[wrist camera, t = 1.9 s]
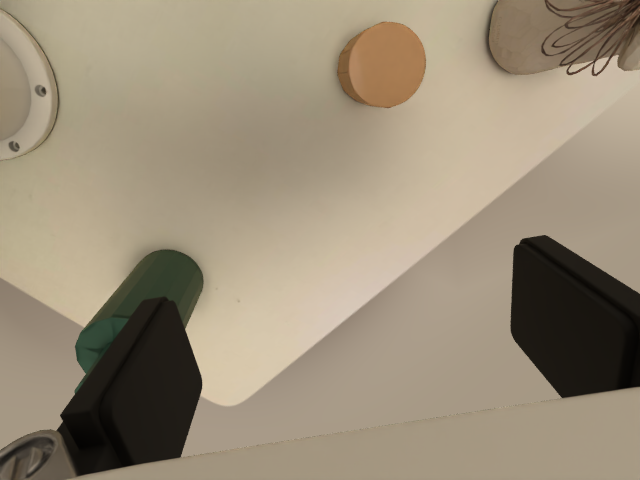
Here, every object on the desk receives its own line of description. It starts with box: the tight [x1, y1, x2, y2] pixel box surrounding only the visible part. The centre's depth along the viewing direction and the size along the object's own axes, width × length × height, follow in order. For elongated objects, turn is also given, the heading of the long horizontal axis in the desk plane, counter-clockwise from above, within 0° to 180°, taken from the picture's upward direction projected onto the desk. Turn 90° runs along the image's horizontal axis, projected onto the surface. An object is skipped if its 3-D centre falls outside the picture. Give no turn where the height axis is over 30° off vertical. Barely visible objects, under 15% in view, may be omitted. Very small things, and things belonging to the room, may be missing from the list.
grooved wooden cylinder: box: [337, 22, 426, 108], centre depth 30 cm, size 5×5×7 cm
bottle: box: [75, 250, 203, 394], centre depth 32 cm, size 7×7×16 cm
